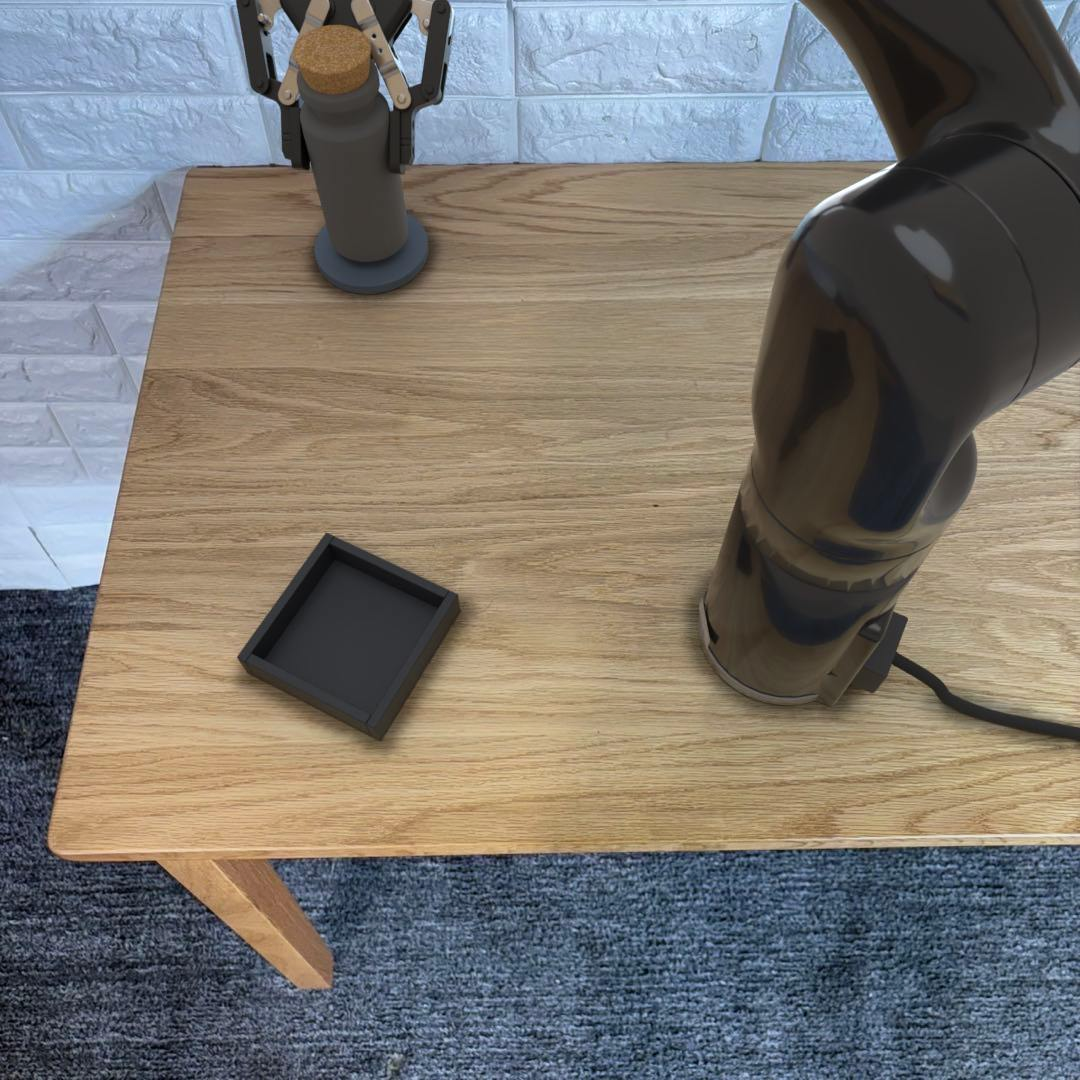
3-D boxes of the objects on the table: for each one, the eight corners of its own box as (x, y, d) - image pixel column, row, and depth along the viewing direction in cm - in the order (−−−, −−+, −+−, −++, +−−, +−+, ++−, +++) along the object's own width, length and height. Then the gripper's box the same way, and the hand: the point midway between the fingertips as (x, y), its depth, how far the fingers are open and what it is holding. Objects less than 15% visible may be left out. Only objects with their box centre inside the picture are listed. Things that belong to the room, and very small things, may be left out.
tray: (461, 611, 60) (458, 593, 58) (380, 742, 56) (374, 728, 54) (333, 550, 62) (326, 531, 60) (246, 672, 58) (236, 657, 56)
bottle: (397, 268, 72) (364, 84, 59) (319, 256, 73) (269, 71, 60) (418, 211, 75) (391, 23, 62) (343, 201, 75) (300, 12, 62)
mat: (448, 235, 76) (447, 227, 75) (391, 309, 72) (389, 301, 72) (355, 199, 78) (353, 191, 77) (294, 270, 74) (292, 262, 74)
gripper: (209, -143, 59) (223, 162, 63) (453, -136, 58) (449, 170, 63) (250, -99, 66) (260, 172, 70) (468, -93, 65) (463, 180, 70)
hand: (349, 170), depth 67 cm, fingers closed on bottle, 6 cm apart
